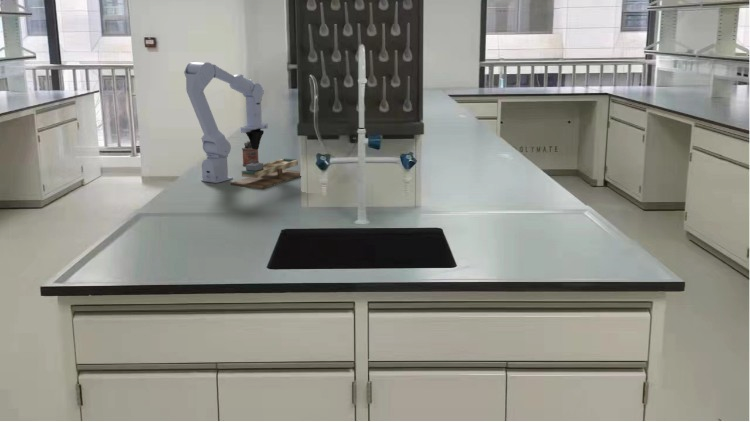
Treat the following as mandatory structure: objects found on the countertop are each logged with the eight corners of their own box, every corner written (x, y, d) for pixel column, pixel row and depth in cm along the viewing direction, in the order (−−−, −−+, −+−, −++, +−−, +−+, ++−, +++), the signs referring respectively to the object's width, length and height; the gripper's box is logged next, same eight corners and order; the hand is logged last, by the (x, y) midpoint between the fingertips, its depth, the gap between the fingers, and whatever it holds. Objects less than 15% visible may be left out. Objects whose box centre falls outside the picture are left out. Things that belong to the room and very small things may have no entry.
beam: (256, 178, 258) (256, 172, 257) (241, 176, 261) (240, 170, 260) (298, 164, 280) (298, 159, 280) (283, 163, 283) (283, 157, 283)
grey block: (255, 174, 259) (254, 165, 258) (246, 172, 261) (245, 164, 260) (263, 171, 263) (263, 163, 262) (254, 170, 265) (254, 162, 264)
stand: (261, 188, 255) (261, 176, 254) (230, 184, 262) (230, 173, 261) (308, 174, 281) (308, 163, 280) (279, 170, 287) (278, 159, 286)
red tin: (246, 166, 296) (245, 142, 293) (240, 165, 298) (239, 141, 295) (260, 163, 302) (259, 140, 299) (255, 163, 304) (254, 139, 301)
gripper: (250, 116, 270) (252, 152, 274) (273, 112, 283) (274, 147, 286) (235, 115, 274) (237, 151, 277) (259, 111, 286) (260, 145, 289)
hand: (255, 148), depth 282 cm, fingers closed
